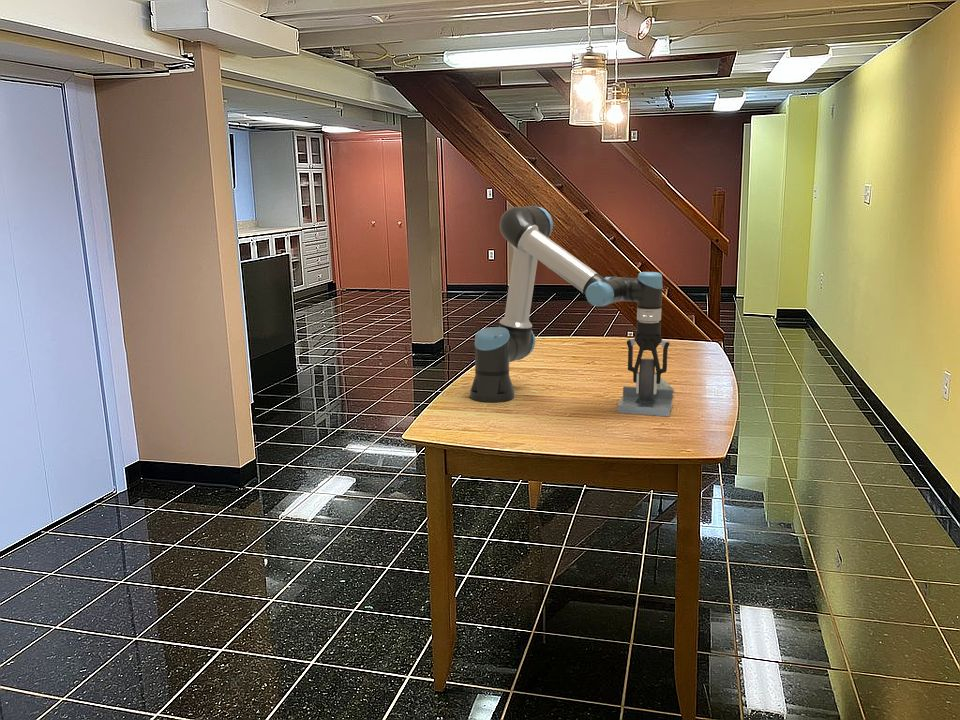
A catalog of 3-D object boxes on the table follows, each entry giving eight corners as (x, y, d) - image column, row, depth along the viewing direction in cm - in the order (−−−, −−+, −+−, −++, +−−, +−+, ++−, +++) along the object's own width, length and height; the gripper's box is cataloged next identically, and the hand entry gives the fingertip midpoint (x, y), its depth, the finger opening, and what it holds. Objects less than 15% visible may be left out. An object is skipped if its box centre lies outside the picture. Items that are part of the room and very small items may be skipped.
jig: (617, 412, 258) (618, 396, 257) (623, 402, 271) (623, 386, 270) (668, 416, 253) (669, 399, 252) (672, 405, 266) (673, 389, 265)
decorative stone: (627, 396, 279) (641, 376, 272) (633, 379, 287) (647, 359, 281) (660, 415, 278) (675, 396, 272) (665, 397, 287) (680, 378, 280)
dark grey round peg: (637, 400, 260) (639, 360, 257) (639, 397, 264) (640, 358, 262) (653, 401, 258) (654, 361, 256) (654, 398, 263) (655, 358, 260)
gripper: (619, 321, 255) (617, 393, 260) (676, 324, 250) (673, 397, 255) (622, 318, 262) (620, 388, 267) (678, 320, 257) (675, 391, 262)
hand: (646, 392), depth 261 cm, fingers closed on dark grey round peg, 5 cm apart
